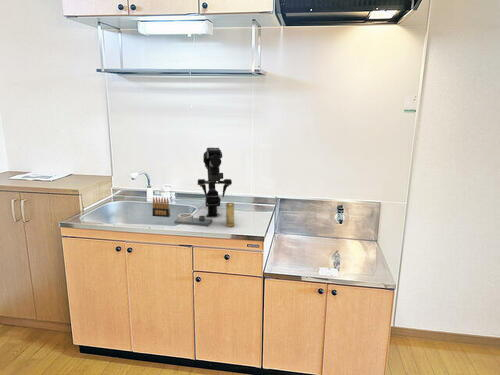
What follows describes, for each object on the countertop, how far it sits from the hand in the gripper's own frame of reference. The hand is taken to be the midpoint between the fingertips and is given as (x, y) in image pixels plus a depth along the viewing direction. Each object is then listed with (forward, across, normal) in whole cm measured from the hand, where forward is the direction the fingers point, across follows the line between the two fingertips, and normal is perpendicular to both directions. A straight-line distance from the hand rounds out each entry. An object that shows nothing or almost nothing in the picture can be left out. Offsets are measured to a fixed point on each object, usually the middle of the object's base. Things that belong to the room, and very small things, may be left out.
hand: (214, 197), depth 206 cm
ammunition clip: (+9, -31, +26) cm, 42 cm away
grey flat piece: (+13, -12, +13) cm, 22 cm away
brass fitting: (+16, +9, +4) cm, 19 cm away
